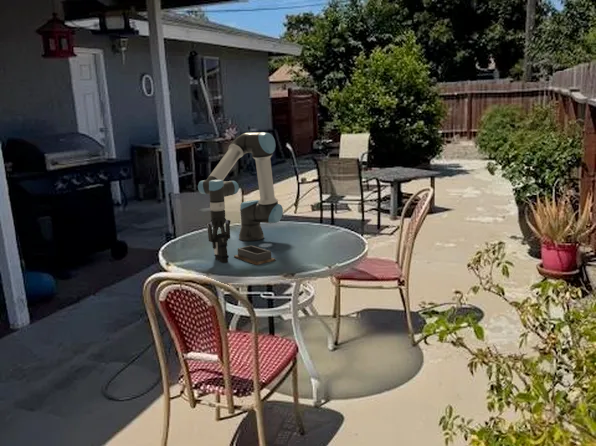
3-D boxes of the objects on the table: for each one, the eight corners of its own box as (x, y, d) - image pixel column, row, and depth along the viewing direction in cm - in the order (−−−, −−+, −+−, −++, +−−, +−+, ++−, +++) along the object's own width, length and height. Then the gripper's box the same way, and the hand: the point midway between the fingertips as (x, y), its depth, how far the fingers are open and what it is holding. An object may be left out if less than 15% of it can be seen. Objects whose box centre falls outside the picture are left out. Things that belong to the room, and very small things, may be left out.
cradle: (251, 252, 304) (251, 245, 303) (271, 258, 290) (271, 251, 289) (237, 255, 298) (237, 248, 297) (257, 262, 284) (256, 254, 284)
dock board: (252, 253, 306) (252, 251, 306) (275, 260, 290) (275, 258, 290) (234, 257, 299) (234, 255, 298) (256, 265, 283) (256, 263, 282)
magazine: (224, 261, 285) (218, 233, 287) (216, 267, 296) (210, 240, 299) (231, 260, 286) (224, 232, 289) (223, 265, 298) (217, 239, 300)
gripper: (206, 213, 280) (209, 257, 285) (235, 208, 291) (238, 251, 296) (199, 211, 286) (202, 255, 291) (228, 206, 297) (230, 249, 302)
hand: (220, 253), depth 293 cm, fingers closed on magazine, 4 cm apart
